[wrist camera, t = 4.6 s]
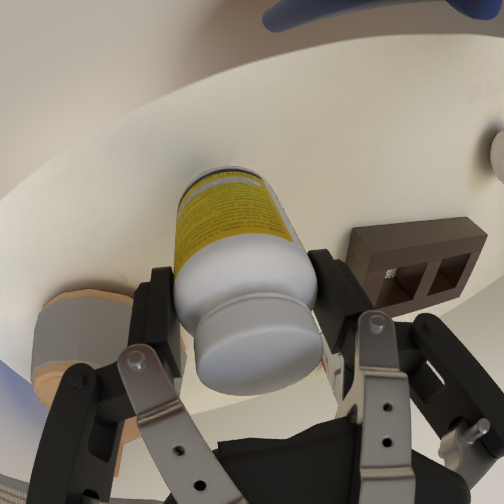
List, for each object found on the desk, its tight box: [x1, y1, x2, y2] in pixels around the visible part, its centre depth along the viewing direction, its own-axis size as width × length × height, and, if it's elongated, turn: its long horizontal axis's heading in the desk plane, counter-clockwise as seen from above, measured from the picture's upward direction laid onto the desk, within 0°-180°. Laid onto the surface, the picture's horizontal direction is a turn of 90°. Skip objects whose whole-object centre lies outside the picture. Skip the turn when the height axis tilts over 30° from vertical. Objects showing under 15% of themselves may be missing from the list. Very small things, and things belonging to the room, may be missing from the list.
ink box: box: [320, 333, 343, 405], centre depth 37 cm, size 9×5×12 cm, turn 14°
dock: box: [346, 217, 488, 318], centre depth 32 cm, size 11×19×4 cm, turn 91°
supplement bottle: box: [173, 166, 324, 396], centre depth 12 cm, size 5×5×10 cm
